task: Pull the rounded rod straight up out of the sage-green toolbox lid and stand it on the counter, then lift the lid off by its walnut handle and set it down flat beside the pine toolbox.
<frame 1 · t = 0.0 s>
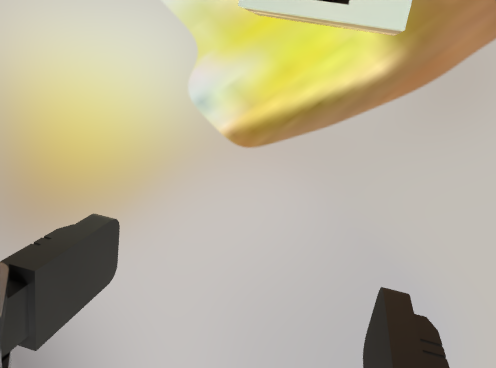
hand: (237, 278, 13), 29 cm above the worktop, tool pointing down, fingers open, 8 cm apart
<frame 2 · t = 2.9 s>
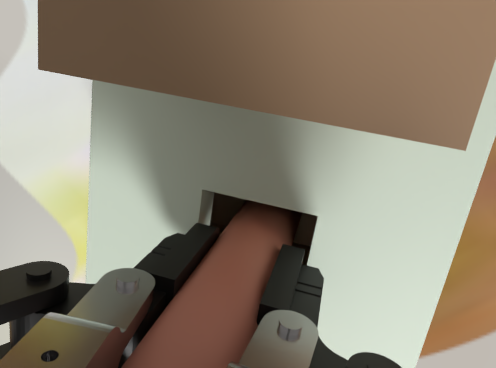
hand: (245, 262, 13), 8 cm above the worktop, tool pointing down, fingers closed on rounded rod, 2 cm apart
rounded rod: (276, 205, 19), point 2 cm above the worktop, touching gripper
lid: (277, 130, 14), point 6 cm above the worktop, touching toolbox
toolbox: (299, 109, 20), on the worktop
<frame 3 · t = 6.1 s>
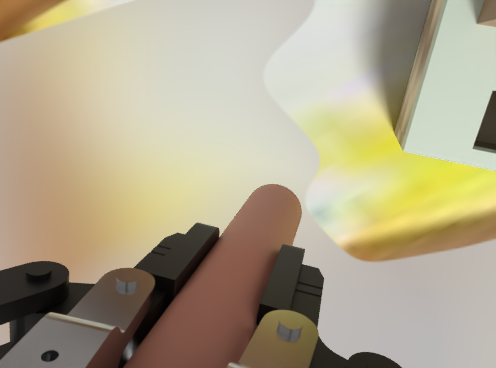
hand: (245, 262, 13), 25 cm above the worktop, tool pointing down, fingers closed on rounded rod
rounded rod: (273, 210, 18), point 20 cm above the worktop, touching gripper
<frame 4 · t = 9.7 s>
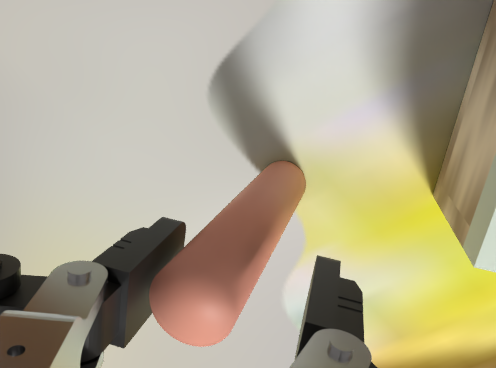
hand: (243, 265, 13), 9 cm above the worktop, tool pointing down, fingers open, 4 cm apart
rounded rod: (282, 183, 22), on the worktop
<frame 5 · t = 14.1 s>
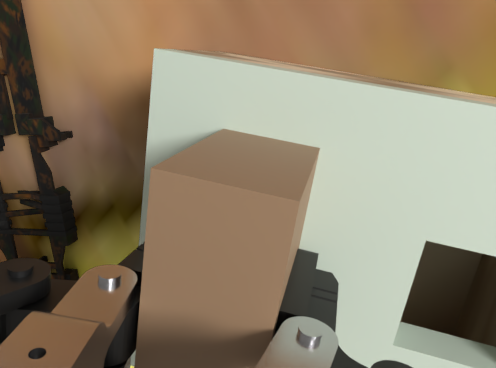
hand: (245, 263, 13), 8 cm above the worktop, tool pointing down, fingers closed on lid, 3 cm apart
lid: (342, 257, 15), point 6 cm above the worktop, touching gripper, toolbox
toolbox: (345, 203, 20), on the worktop
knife: (13, 76, 24), on the worktop
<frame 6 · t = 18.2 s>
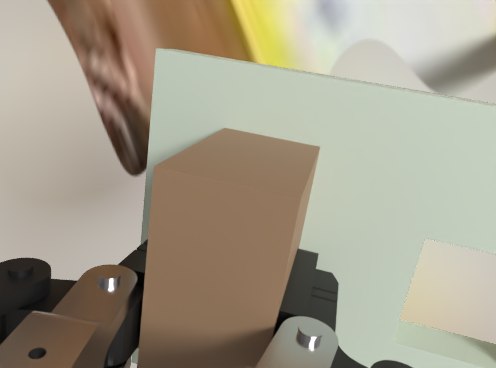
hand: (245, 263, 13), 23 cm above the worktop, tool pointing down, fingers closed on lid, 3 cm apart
lid: (342, 255, 15), point 21 cm above the worktop, touching gripper
when the fingers open (4 cm above the worktop, at t = 22.0 s): lid drops 1 cm, on the worktop.
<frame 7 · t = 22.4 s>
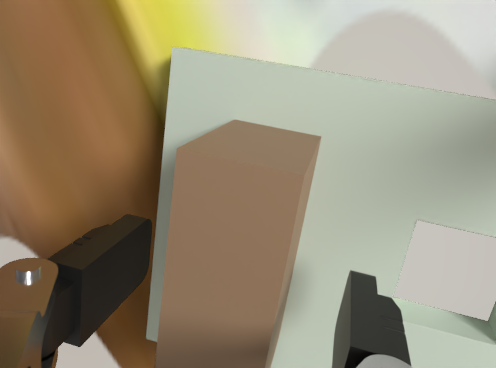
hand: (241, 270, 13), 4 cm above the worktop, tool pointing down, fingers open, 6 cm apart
lid: (341, 238, 16), on the worktop
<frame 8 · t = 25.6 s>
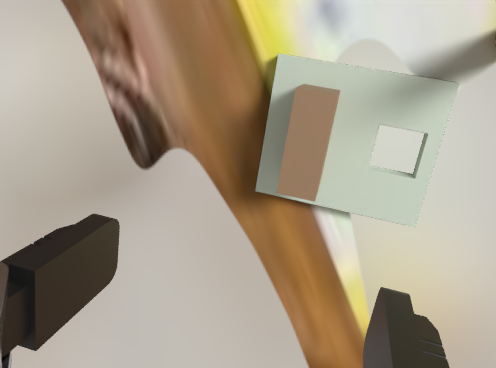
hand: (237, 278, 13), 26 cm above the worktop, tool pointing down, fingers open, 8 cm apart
lid: (348, 138, 36), on the worktop
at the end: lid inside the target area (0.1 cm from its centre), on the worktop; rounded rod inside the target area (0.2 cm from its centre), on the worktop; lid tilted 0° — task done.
